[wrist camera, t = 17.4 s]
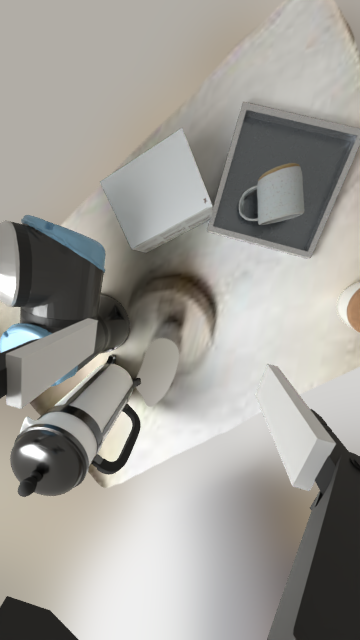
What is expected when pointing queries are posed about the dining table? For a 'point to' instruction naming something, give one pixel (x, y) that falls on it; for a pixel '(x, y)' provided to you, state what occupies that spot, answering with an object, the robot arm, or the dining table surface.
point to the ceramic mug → (277, 195)
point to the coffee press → (75, 434)
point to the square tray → (275, 150)
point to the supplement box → (159, 194)
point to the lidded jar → (350, 306)
